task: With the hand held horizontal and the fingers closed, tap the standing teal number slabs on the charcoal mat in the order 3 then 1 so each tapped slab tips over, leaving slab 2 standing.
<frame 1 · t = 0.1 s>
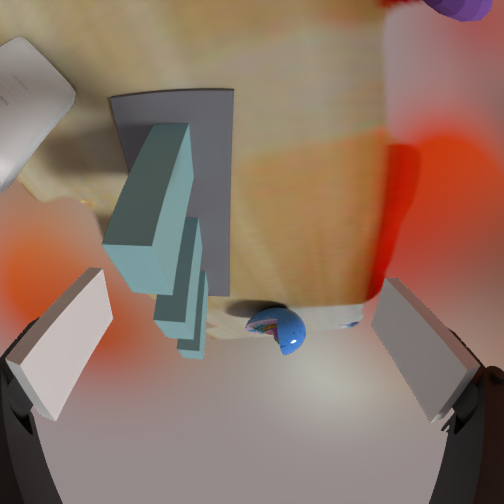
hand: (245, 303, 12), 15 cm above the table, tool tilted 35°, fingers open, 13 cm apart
tile 2: (188, 233, 32), resting on mat
tile 3: (197, 279, 42), resting on mat
tile 1: (174, 152, 22), resting on mat
mat: (188, 230, 32), on the table
cell model: (274, 308, 54), on the table
photo printer: (41, 73, 13), on the table
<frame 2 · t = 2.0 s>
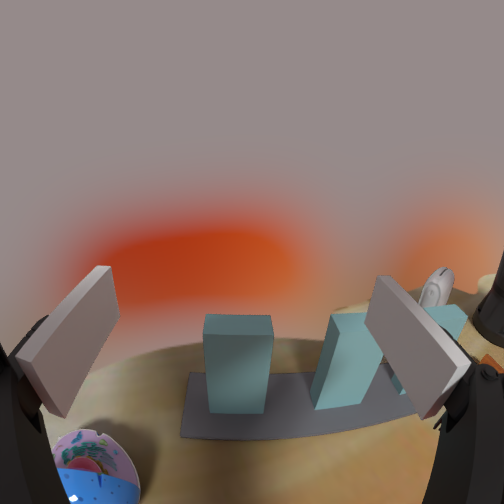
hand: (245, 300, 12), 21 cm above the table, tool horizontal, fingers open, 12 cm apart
tile 2: (335, 398, 29), resting on mat
tile 3: (236, 403, 28), resting on mat
tile 1: (411, 383, 29), resting on mat
mat: (334, 399, 29), on the table
cell model: (103, 492, 14), on the table
photo printer: (422, 331, 41), on the table
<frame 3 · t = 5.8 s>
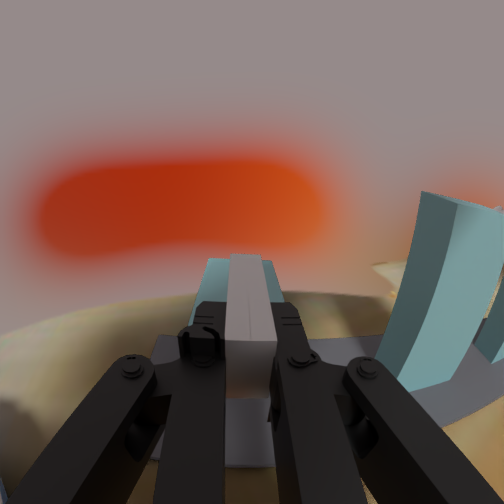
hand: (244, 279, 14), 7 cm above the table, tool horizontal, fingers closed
tile 2: (412, 374, 15), resting on mat
tile 3: (239, 350, 15), point 2 cm above the table, tilted 94°, touching mat
tile 1: (498, 348, 16), resting on mat
mat: (410, 378, 15), on the table
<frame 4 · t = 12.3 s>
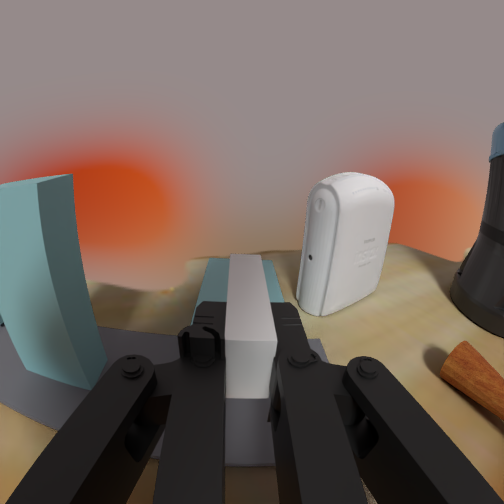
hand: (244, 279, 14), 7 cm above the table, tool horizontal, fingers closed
tile 2: (64, 365, 14), resting on mat
tile 1: (240, 354, 15), point 2 cm above the table, tilted 92°, touching mat
mat: (66, 369, 14), on the table
photo printer: (338, 299, 26), on the table
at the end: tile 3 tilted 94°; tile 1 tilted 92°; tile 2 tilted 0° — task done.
